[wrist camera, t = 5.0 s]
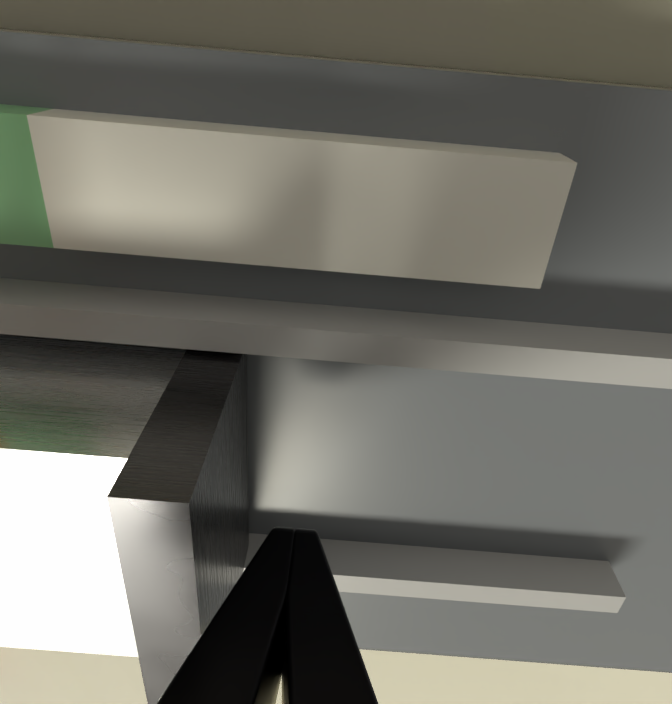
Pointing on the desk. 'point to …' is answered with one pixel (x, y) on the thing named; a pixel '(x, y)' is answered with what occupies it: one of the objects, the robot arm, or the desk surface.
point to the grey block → (120, 497)
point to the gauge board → (383, 314)
